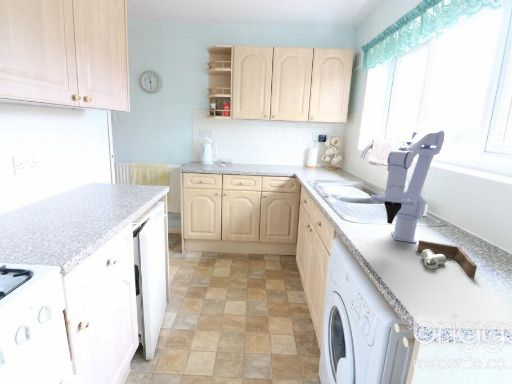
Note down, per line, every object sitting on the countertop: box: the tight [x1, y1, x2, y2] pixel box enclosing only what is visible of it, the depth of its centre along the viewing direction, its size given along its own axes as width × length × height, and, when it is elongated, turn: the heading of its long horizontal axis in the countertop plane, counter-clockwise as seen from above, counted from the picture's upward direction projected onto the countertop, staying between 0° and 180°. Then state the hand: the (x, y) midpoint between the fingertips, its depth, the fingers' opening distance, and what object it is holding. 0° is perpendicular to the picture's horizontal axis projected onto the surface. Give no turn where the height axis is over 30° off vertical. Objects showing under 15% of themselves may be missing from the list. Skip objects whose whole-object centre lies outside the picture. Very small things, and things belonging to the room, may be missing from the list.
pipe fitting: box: [420, 249, 447, 270], centre depth 93 cm, size 8×4×7 cm
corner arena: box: [416, 239, 478, 279], centre depth 94 cm, size 16×13×4 cm
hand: (389, 222), depth 102 cm, fingers closed
